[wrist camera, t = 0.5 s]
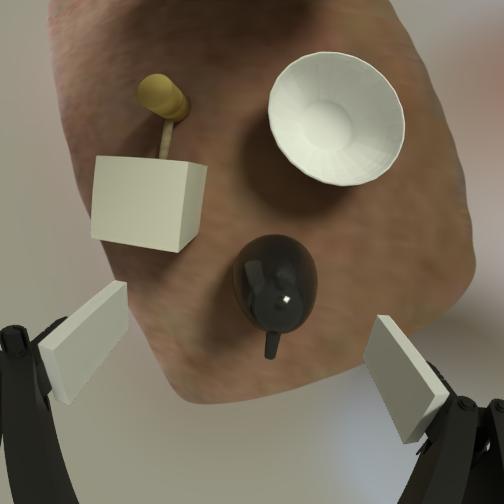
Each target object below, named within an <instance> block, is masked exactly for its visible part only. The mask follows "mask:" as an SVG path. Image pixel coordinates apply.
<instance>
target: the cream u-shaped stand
mask: <svg viewBox="0 0 504 504" xmlns="http://www.w3.org/2000/svg"><path fill="white" fill-rule="evenodd" d="M206 173H207V166H204V165H200V164H196V163H192V162H185V161H175V160H163V159H151V158H136V157H118V156H96V164H95V173H94V183H93V195H92V211H91V238H94V239H99V240H104V241H110V242H116V243H122V244H128V245H134V246H140V247H146V248H152V249H158V250H164V251H170V252H176V253H178V252H180V251H181V250H182V249H183V248H184V247H185V246H186V245H187V244H188V243H189V242H190V241H191V240H192V239H193V238H194V237H196V236H197V235H198V234H199V226H200V217H201V209H202V202H203V194H204V187H205V180H206Z"/></svg>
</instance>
